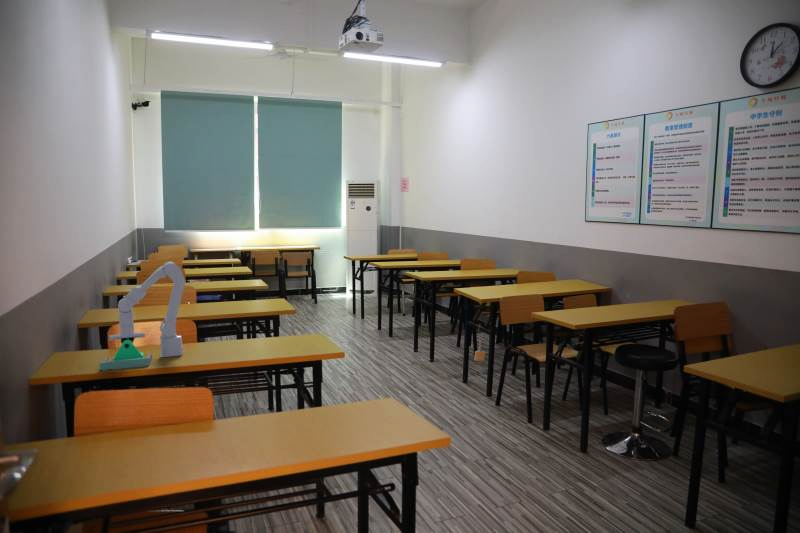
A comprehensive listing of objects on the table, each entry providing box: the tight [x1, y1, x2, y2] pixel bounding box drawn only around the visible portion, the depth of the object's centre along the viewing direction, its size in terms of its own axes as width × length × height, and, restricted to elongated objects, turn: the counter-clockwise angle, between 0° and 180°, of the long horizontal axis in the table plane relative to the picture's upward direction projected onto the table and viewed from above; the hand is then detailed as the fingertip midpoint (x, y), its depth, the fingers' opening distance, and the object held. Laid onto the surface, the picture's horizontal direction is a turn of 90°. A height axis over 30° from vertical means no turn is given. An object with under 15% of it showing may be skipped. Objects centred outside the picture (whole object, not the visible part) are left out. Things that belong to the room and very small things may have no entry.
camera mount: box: [112, 340, 144, 361], centre depth 244 cm, size 12×8×10 cm, turn 112°
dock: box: [99, 352, 153, 371], centre depth 240 cm, size 19×13×4 cm
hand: (128, 354), depth 246 cm, fingers closed, pressing on camera mount
